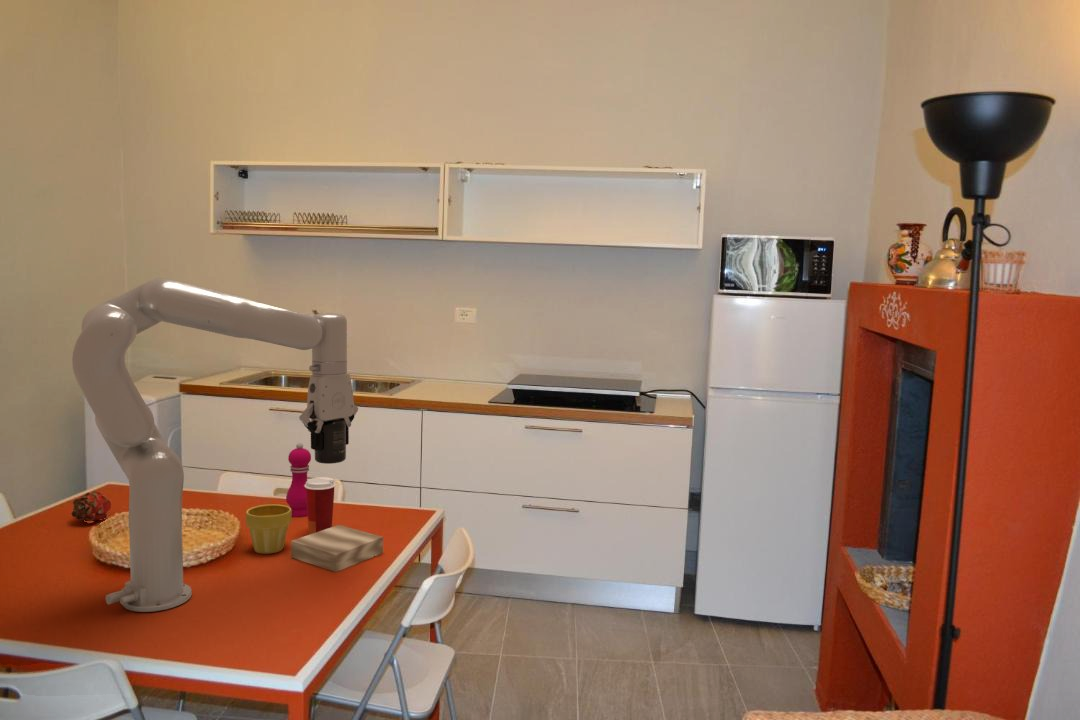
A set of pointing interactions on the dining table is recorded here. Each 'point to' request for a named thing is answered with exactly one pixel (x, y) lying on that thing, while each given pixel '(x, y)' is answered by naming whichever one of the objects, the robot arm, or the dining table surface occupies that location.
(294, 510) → the pepper mill
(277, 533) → the plant pot
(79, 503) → the dragon fruit
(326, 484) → the paper cup
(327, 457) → the supplement bottle
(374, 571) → the dining table surface
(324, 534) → the beech block
